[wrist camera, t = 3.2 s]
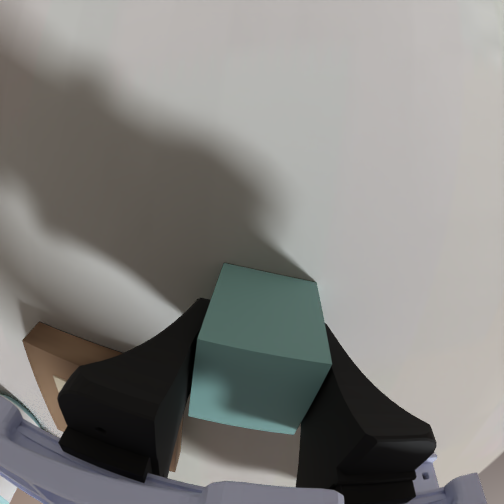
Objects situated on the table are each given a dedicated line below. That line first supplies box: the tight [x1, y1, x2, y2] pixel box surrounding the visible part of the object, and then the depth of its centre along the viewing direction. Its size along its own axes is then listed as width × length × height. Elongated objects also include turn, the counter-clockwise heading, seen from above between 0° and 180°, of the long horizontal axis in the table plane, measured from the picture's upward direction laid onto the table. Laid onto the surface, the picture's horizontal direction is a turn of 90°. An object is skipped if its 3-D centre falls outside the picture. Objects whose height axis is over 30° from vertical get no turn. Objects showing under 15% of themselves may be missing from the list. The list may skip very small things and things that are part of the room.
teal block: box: [188, 263, 332, 435], centre depth 12 cm, size 4×4×5 cm
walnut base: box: [22, 322, 183, 472], centre depth 17 cm, size 10×10×2 cm
